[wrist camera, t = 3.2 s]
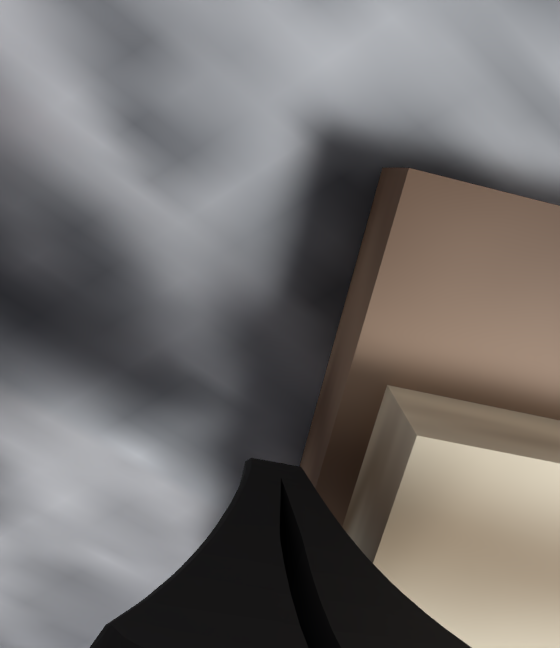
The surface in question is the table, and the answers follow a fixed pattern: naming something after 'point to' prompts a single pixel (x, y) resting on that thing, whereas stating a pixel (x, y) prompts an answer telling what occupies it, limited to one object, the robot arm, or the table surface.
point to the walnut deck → (439, 315)
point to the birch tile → (465, 515)
